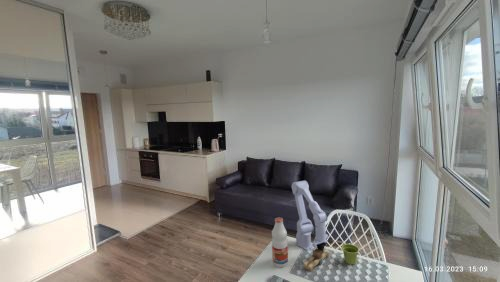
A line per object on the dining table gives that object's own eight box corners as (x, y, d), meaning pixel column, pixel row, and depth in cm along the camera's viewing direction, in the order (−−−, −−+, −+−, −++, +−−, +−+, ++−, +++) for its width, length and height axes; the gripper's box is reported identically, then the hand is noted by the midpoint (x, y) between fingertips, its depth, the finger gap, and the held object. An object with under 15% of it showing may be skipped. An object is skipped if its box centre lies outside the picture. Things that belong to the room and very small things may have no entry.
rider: (318, 261, 137) (318, 253, 137) (312, 258, 140) (312, 251, 140) (322, 258, 140) (322, 251, 139) (316, 255, 143) (316, 248, 142)
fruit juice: (284, 256, 146) (282, 214, 143) (290, 266, 137) (289, 221, 134) (270, 260, 143) (268, 217, 140) (276, 269, 134) (274, 224, 131)
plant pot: (356, 269, 132) (356, 254, 131) (339, 263, 137) (339, 249, 136) (360, 260, 139) (360, 246, 138) (344, 255, 145) (344, 242, 144)
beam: (311, 272, 130) (311, 267, 130) (302, 267, 135) (302, 262, 135) (330, 257, 144) (330, 252, 143) (320, 252, 148) (320, 248, 148)
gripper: (319, 238, 133) (320, 261, 134) (332, 229, 142) (332, 250, 144) (309, 234, 138) (309, 255, 139) (322, 226, 147) (322, 246, 149)
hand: (320, 252), depth 142 cm, fingers closed
